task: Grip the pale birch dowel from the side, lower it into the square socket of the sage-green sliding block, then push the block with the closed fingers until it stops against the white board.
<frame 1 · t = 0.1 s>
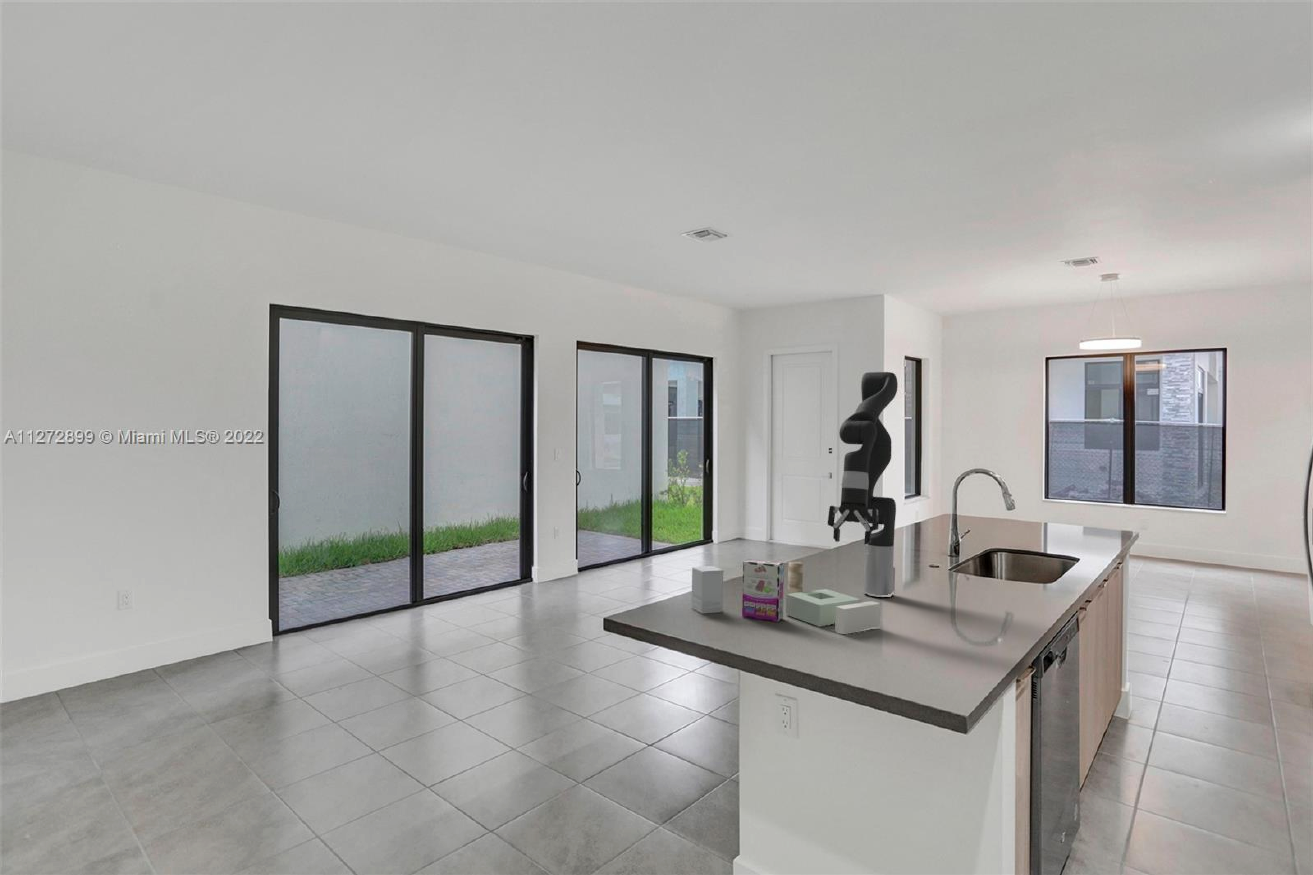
hand: (851, 543, 197), 22 cm above the worktop, tool pointing down, fingers open, 8 cm apart
socket block: (822, 606, 197), point 3 cm above the worktop, slide at 0.0 cm
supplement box: (706, 610, 203), on the worktop
backstop board: (857, 630, 186), on the worktop
candy bar box: (762, 618, 196), on the worktop
birch dowel: (794, 608, 208), on the worktop
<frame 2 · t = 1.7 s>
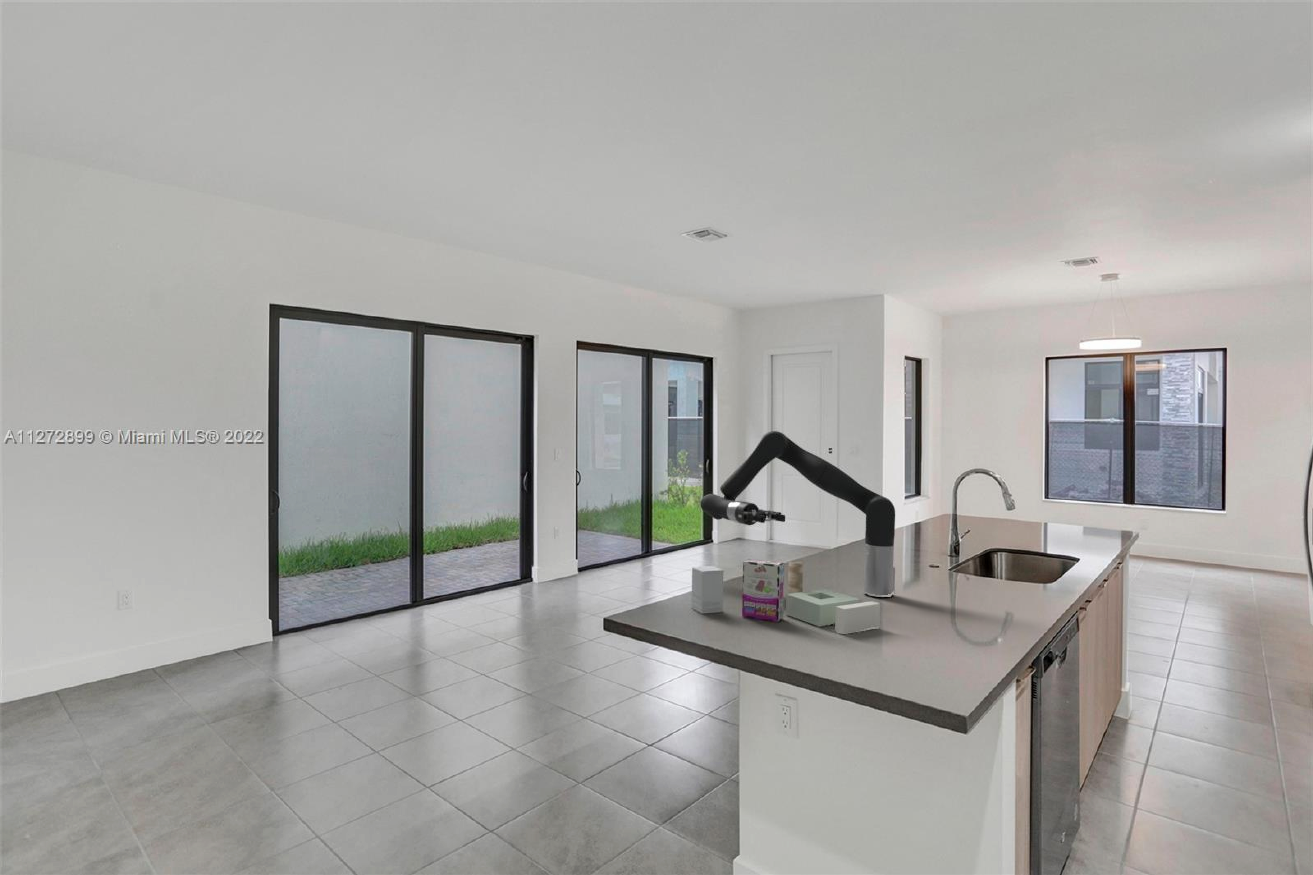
hand: (774, 519, 216), 26 cm above the worktop, tool horizontal, fingers open, 8 cm apart
nothing on the worktop moved.
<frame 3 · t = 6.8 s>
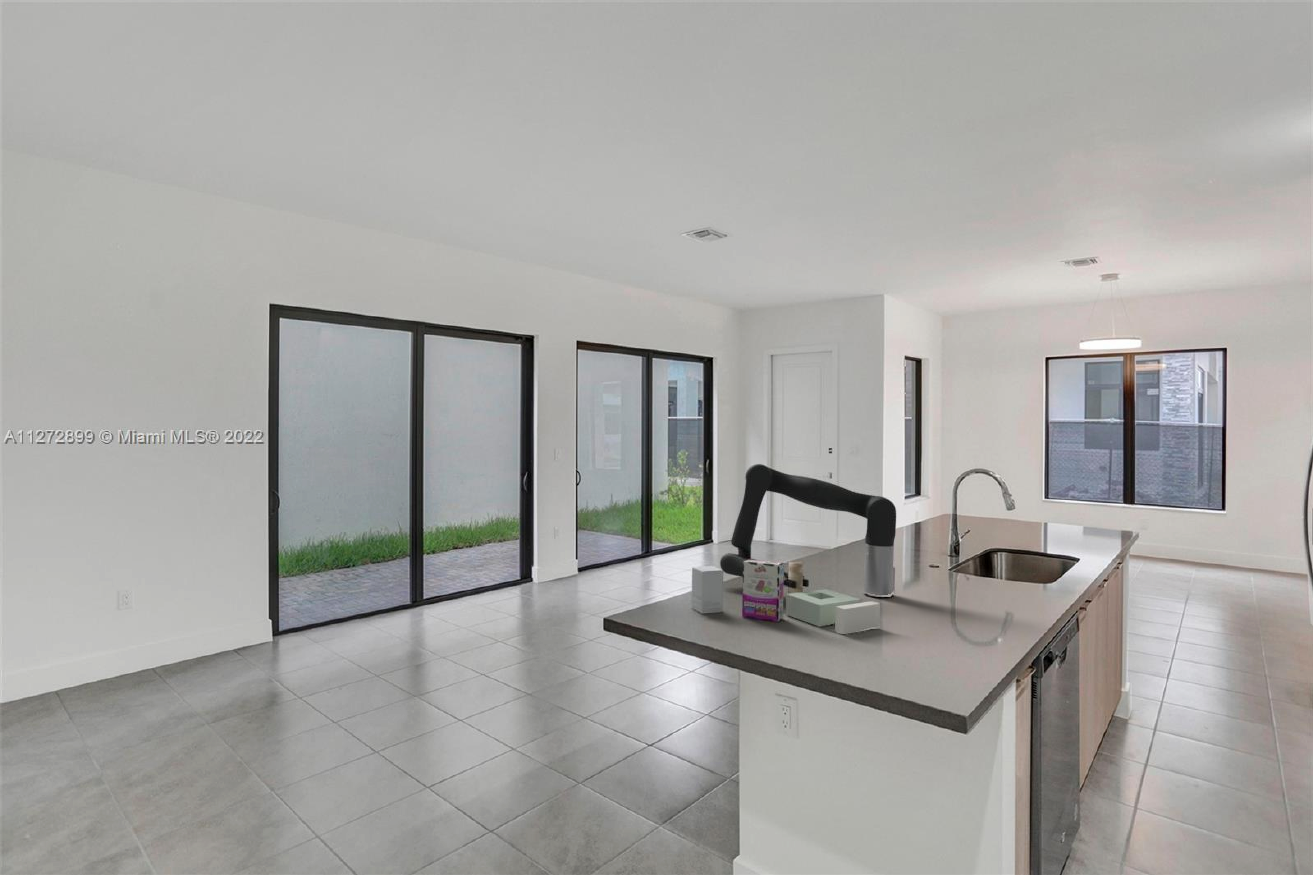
hand: (801, 584, 205), 8 cm above the worktop, tool horizontal, fingers closed on birch dowel, 4 cm apart
birch dowel: (794, 608, 208), on the worktop, touching gripper
everything else where it was.
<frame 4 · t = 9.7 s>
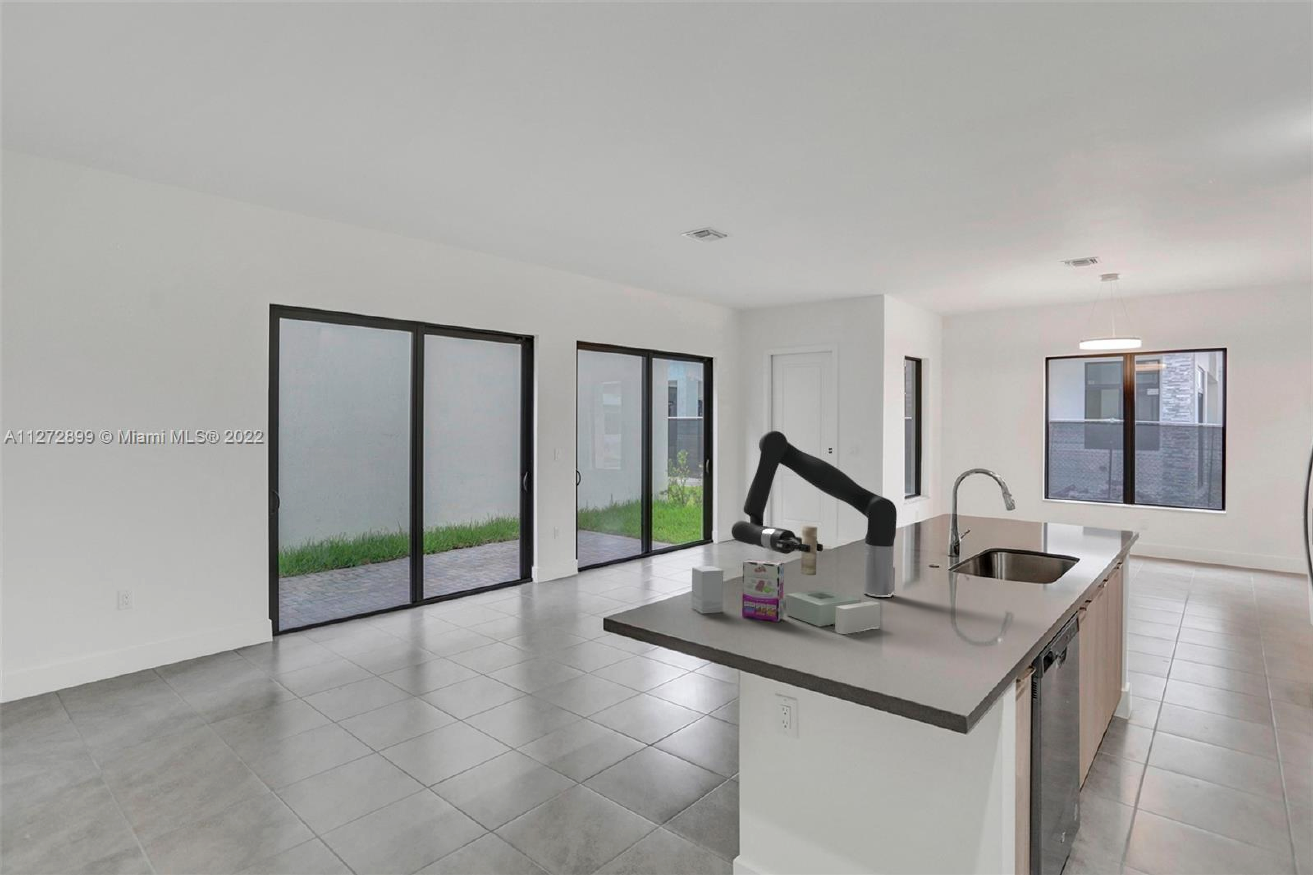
hand: (815, 548, 200), 20 cm above the worktop, tool horizontal, fingers closed on birch dowel, 4 cm apart
birch dowel: (808, 573, 203), point 12 cm above the worktop, touching gripper
everything else where it was.
when the fingers open (11 cm above the worktop, at t = 13.0 s): birch dowel drops 1 cm, resting on socket block.
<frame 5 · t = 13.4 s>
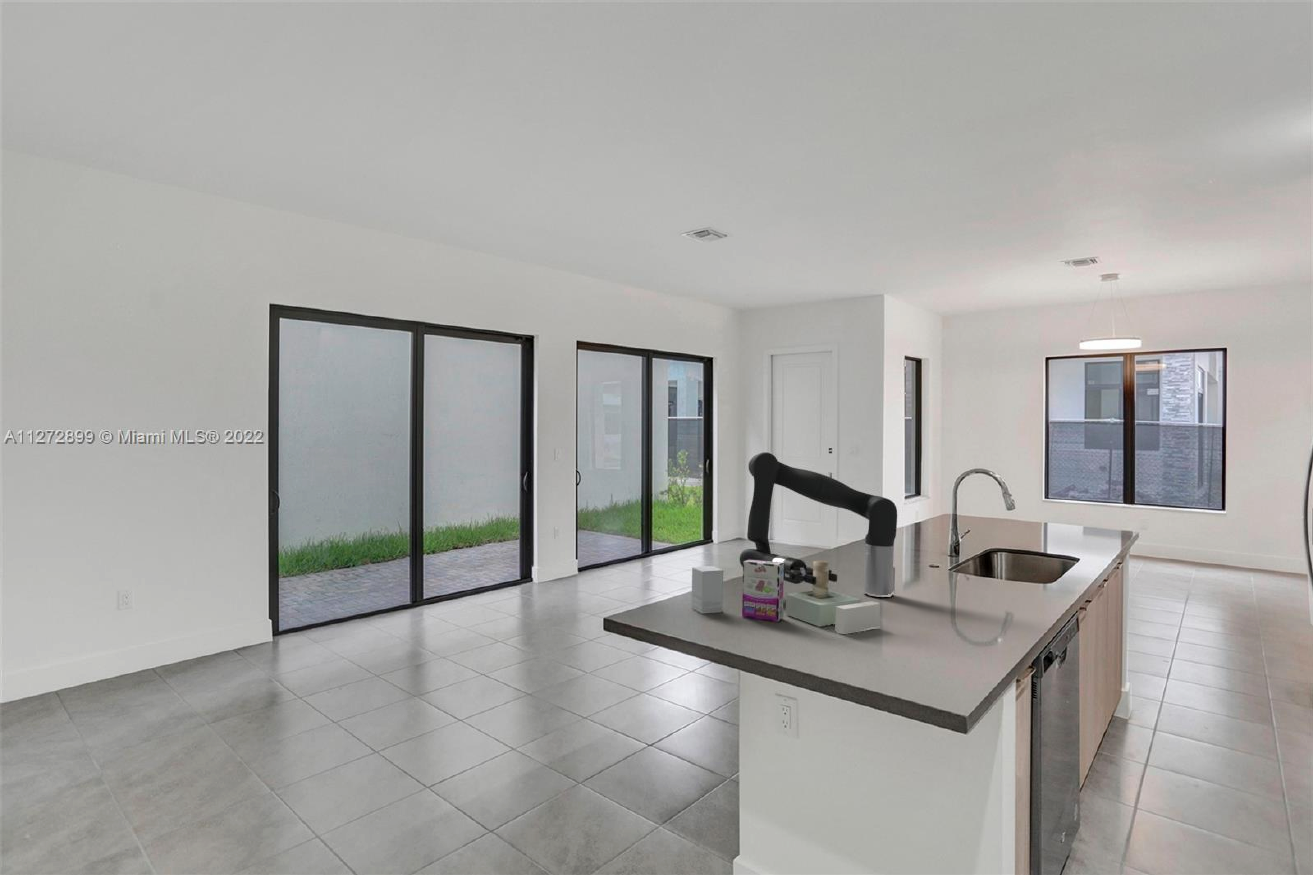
hand: (826, 579, 196), 12 cm above the worktop, tool horizontal, fingers open, 8 cm apart
socket block: (822, 606, 197), point 3 cm above the worktop, slide at 0.0 cm, touching birch dowel
birch dowel: (820, 609, 198), point 2 cm above the worktop, touching socket block
everything else where it was.
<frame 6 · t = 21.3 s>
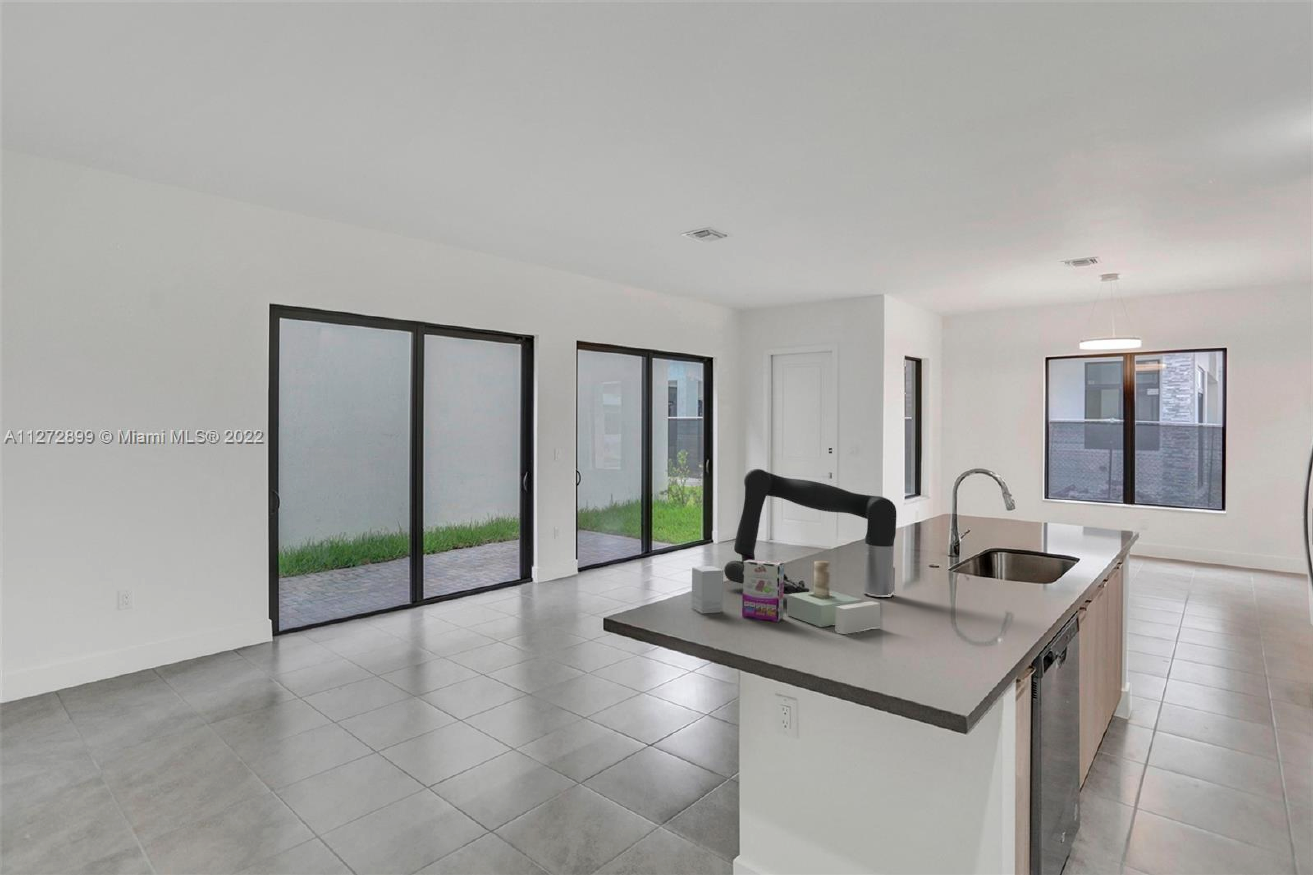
hand: (807, 592, 203), 6 cm above the worktop, tool horizontal, fingers closed
socket block: (824, 607, 197), point 3 cm above the worktop, slide at 0.5 cm, touching birch dowel, gripper
everything else where it was.
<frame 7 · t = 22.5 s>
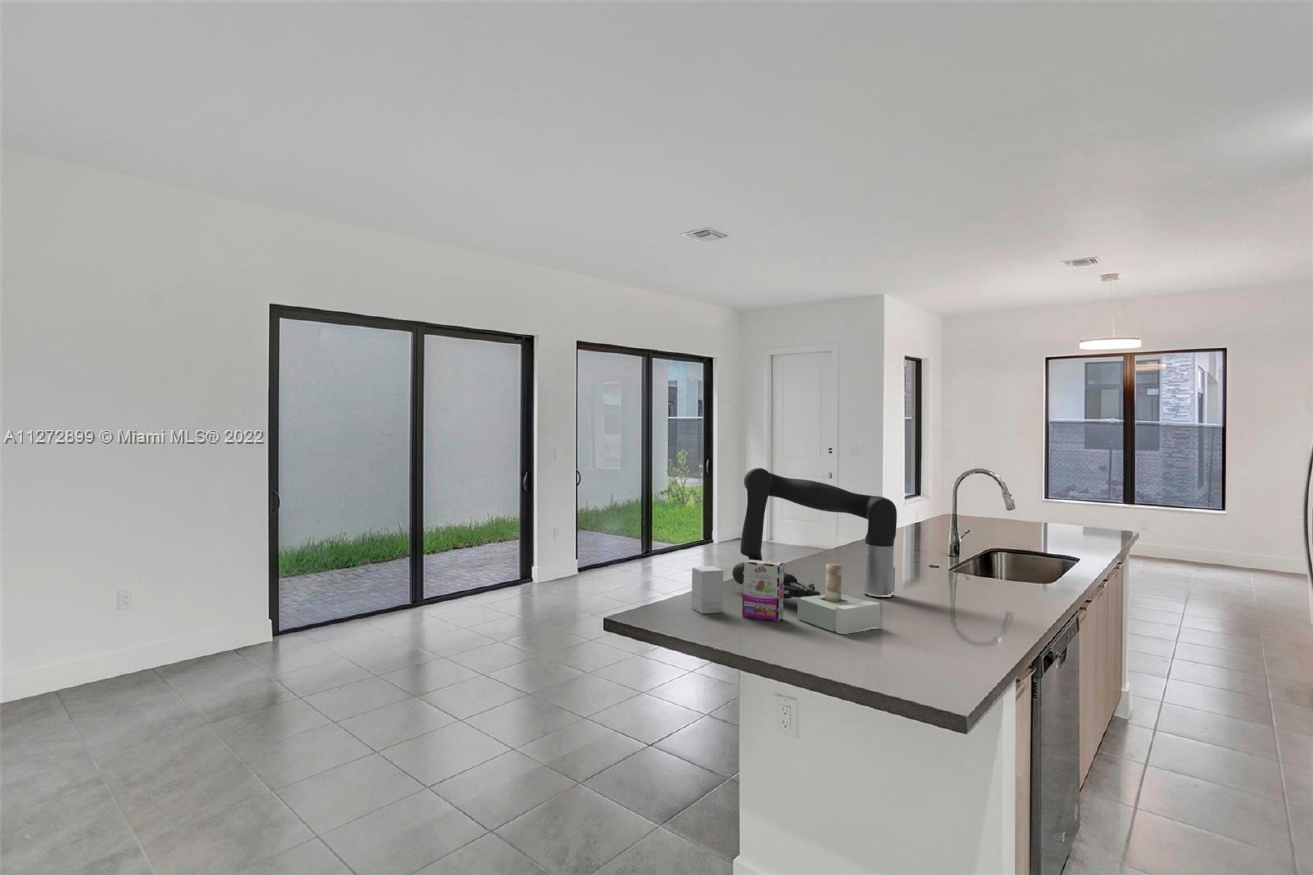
hand: (818, 596, 199), 6 cm above the worktop, tool horizontal, fingers closed
socket block: (835, 611, 193), point 3 cm above the worktop, slide at 5.0 cm, touching backstop board, birch dowel, gripper
birch dowel: (832, 613, 194), point 2 cm above the worktop, touching socket block
everything else where it was.
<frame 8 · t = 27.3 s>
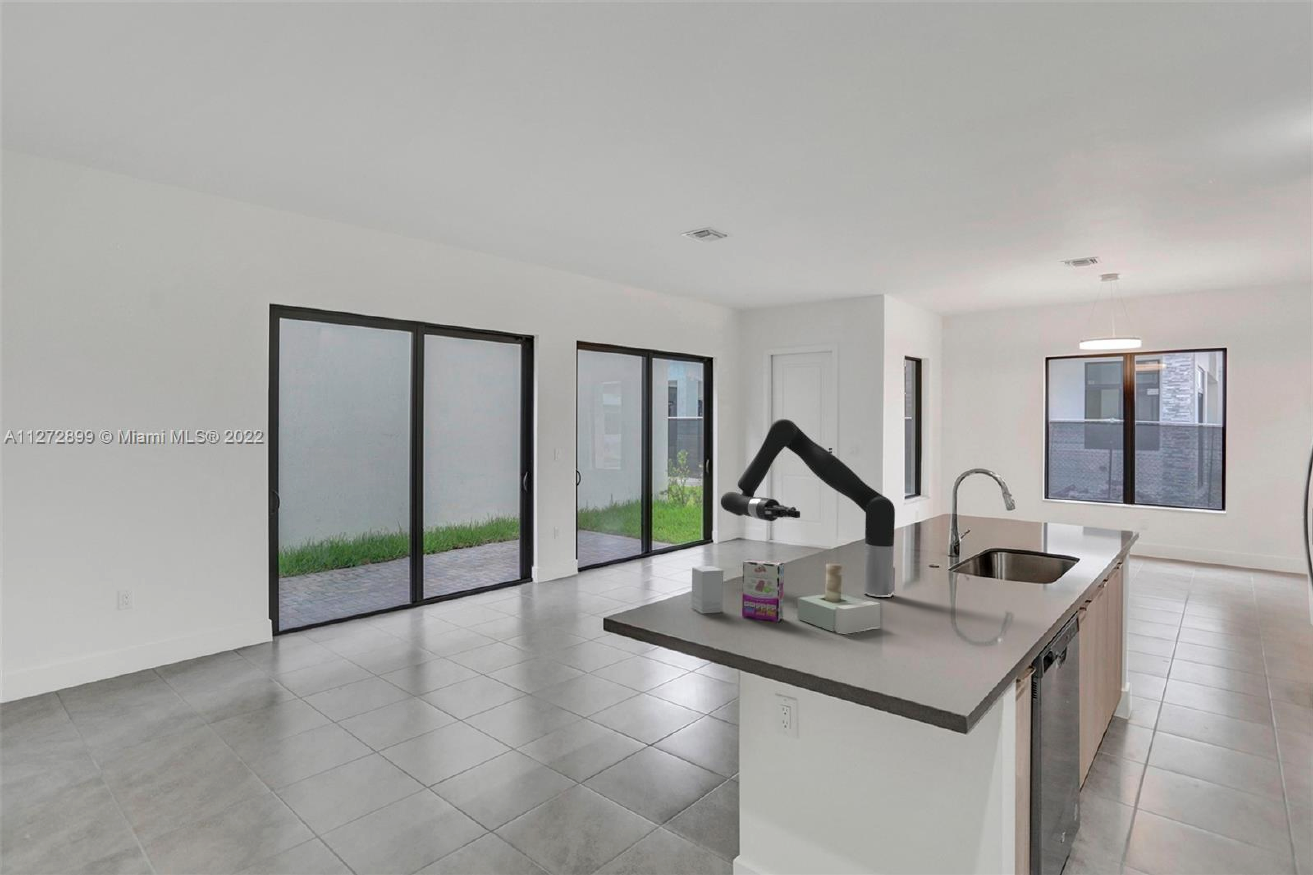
hand: (798, 514, 216), 28 cm above the worktop, tool horizontal, fingers closed
socket block: (835, 611, 193), point 3 cm above the worktop, slide at 5.0 cm, touching birch dowel
everything else where it was.
at the end: socket block slide at 5.0 cm; birch dowel 0.1 cm from the target spot on the socket block, point 2.3 cm above the socket block's base; birch dowel tilted 0° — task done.
